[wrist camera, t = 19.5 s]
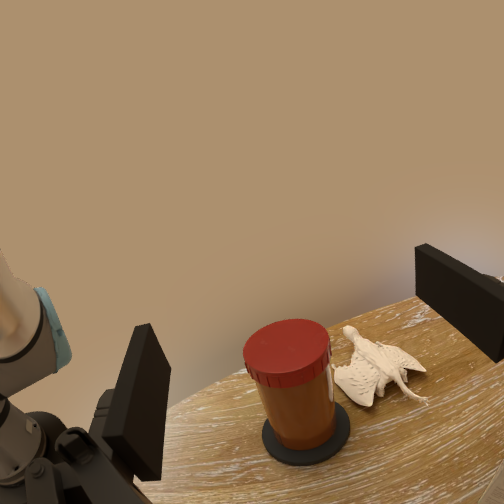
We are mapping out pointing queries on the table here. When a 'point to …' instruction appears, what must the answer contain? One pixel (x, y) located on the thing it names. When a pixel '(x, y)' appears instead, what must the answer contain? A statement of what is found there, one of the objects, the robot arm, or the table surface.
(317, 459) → the coaster
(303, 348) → the lid
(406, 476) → the table surface
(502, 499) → the white packaging box
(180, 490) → the table surface
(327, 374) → the jar
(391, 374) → the white dragon
